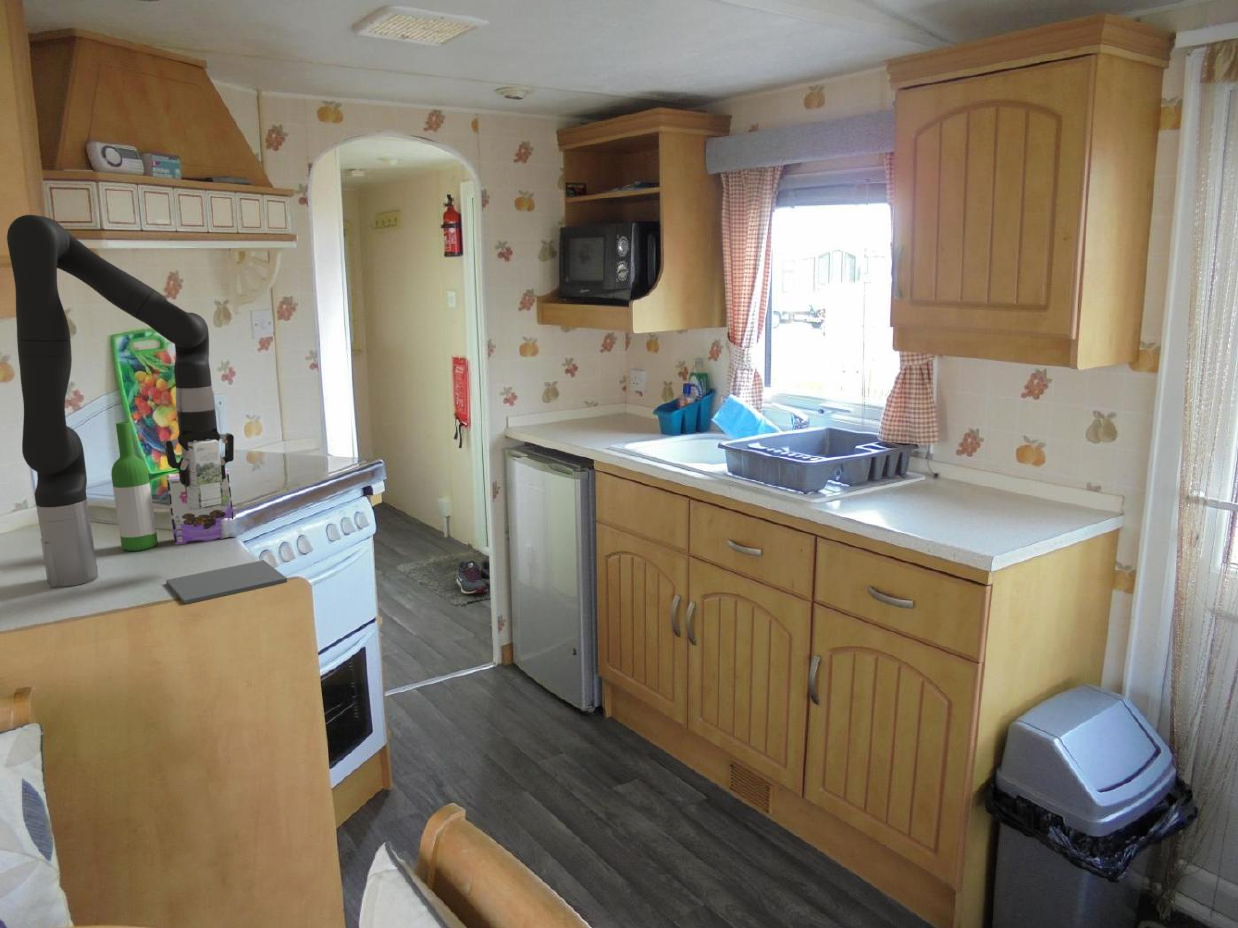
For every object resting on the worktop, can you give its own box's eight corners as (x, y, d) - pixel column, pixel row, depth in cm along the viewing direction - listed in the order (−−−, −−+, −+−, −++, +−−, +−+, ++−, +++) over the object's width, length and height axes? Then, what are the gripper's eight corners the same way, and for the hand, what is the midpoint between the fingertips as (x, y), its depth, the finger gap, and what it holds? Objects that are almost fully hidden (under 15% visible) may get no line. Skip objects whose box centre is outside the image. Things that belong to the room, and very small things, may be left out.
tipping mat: (184, 604, 184) (184, 600, 184) (166, 583, 197) (166, 579, 197) (287, 581, 196) (286, 578, 196) (264, 563, 208) (263, 560, 208)
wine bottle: (116, 548, 223) (98, 423, 216) (149, 540, 229) (132, 418, 222) (130, 554, 218) (112, 426, 211) (164, 546, 224) (147, 421, 217)
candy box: (174, 545, 224) (165, 478, 220) (174, 539, 229) (166, 473, 225) (236, 537, 229) (228, 471, 226) (235, 531, 234) (228, 467, 231)
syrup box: (211, 500, 209) (205, 436, 206) (225, 504, 205) (219, 439, 202) (186, 505, 204) (179, 440, 201) (199, 510, 201) (193, 443, 198)
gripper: (163, 413, 193) (171, 492, 197) (235, 406, 202) (242, 482, 205) (155, 408, 199) (163, 485, 203) (226, 402, 208) (233, 476, 211)
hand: (203, 483), depth 204 cm, fingers closed on syrup box, 6 cm apart
